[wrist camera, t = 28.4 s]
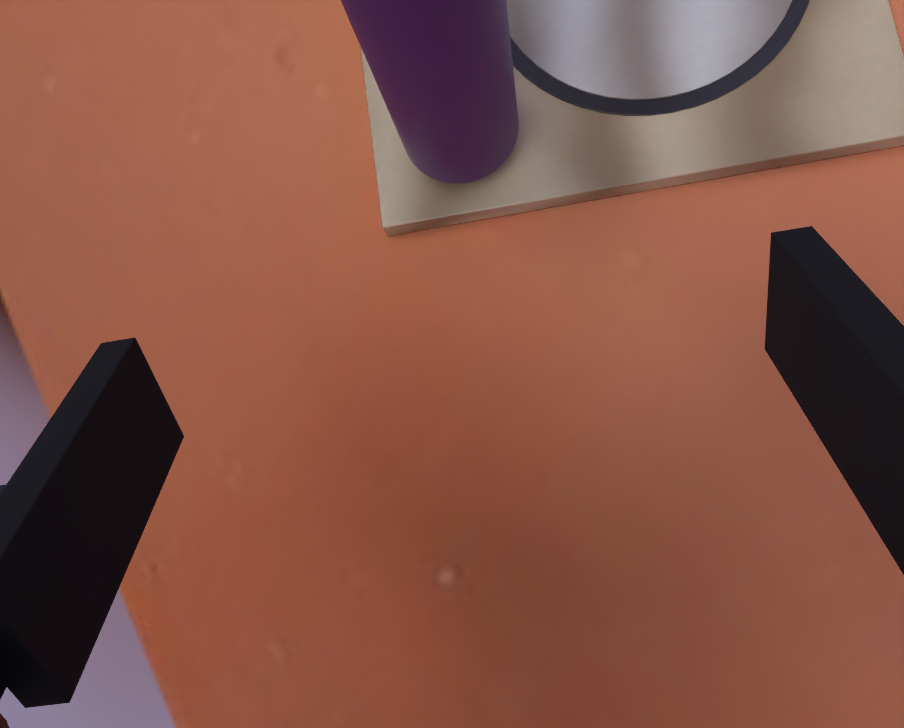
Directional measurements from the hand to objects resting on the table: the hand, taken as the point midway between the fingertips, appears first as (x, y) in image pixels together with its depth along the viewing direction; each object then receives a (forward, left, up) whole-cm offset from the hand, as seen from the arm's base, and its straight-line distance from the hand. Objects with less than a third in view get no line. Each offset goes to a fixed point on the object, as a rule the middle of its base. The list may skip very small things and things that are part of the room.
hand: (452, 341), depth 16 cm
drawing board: (+7, +17, -13) cm, 22 cm away
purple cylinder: (0, +11, -12) cm, 16 cm away
